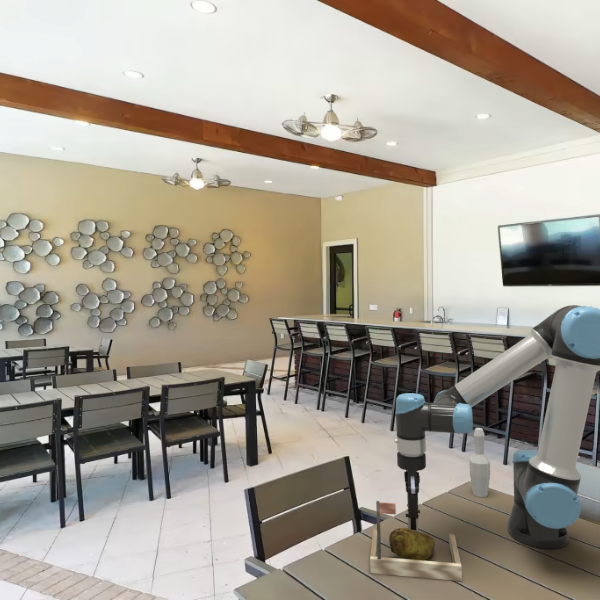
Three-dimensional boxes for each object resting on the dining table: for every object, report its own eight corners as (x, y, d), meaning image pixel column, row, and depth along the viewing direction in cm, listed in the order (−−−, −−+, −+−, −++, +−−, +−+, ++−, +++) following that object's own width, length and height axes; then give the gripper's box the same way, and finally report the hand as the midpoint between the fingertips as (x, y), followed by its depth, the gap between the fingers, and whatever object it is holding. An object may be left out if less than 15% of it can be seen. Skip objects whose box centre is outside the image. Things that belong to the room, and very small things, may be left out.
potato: (444, 564, 119) (443, 533, 119) (394, 570, 117) (393, 538, 117) (430, 547, 127) (429, 517, 127) (384, 552, 125) (383, 522, 125)
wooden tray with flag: (454, 547, 127) (452, 482, 127) (462, 581, 112) (460, 507, 112) (373, 540, 131) (371, 478, 131) (370, 573, 116) (368, 502, 116)
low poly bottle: (470, 497, 157) (469, 431, 157) (470, 489, 163) (468, 425, 163) (491, 499, 155) (489, 432, 155) (489, 491, 161) (488, 426, 161)
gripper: (396, 444, 135) (398, 526, 135) (397, 460, 122) (399, 551, 122) (423, 444, 134) (426, 528, 134) (427, 461, 121) (429, 553, 121)
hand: (413, 539), depth 128 cm, fingers closed
